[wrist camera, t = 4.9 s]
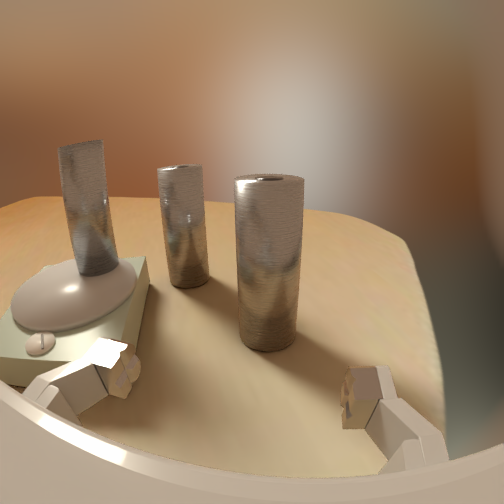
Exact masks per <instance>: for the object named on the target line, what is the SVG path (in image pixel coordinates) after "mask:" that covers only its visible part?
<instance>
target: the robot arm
mask: <svg viewBox="0 0 504 504" xmlns="http://www.w3.org/2000/svg"><path fill="white" fill-rule="evenodd" d="M135 352H136V349H135V346H134V344H131V343H128V342H124V341H120V340H116V339H111V338H108V337H104V336H102V337H99V339H98V340H97V341H96V342H95V343H94V344H93V346H92V347H91V348H90V349H89V350H88V352H87V353H86V354H85V355H84V356H83V358H82V359H76V360H74V361H72V362H69V363H67V364H65V365H62V366H60V367H58V368H55V369H53V370H51V371H48V372H46V373H44V374H41V375H39V376H37V377H36V378H35V379H34V380H33V381H32V382H31V384H30V385H29V386H28V387H27V388H26V390H25V391H24V392H23V393H22V394H20V393H19V392H17V391H16V390H14V389H13V388H11V387H10V386H8V385H7V384H5V383H4V382H2V381H1V380H0V504H504V443H502V444H499V445H497V446H494V447H492V448H489V449H486V450H483V451H481V452H477V453H475V454H471V455H468V456H465V457H462V458H458V459H455V460H451V461H450V460H449V456H448V452H447V448H446V445H445V441H444V438H443V434H442V433H441V432H440V431H439V430H438V429H437V428H436V427H435V426H433V425H432V424H431V423H430V422H429V421H428V420H426V419H425V418H424V417H423V416H422V415H421V414H419V413H418V412H417V411H416V410H415V409H414V408H413V407H411V406H410V405H409V404H408V403H407V402H406V401H405V400H403V399H402V398H398V396H397V393H396V389H395V385H394V382H393V378H392V375H391V371H390V368H389V366H388V365H385V366H348V368H347V371H346V380H345V381H344V382H343V384H342V388H341V406H342V407H343V408H344V410H343V412H342V428H343V429H365V431H366V432H367V434H368V435H369V436H370V437H371V439H372V440H373V441H374V443H375V444H376V445H377V446H378V448H379V449H380V450H381V452H382V453H383V454H384V455H385V457H386V458H387V459H388V460H389V461H388V462H387V463H386V464H385V466H384V467H383V468H382V469H381V470H380V471H379V472H378V474H377V475H368V476H356V477H339V478H295V477H277V476H265V475H255V474H247V473H239V472H232V471H226V470H220V469H214V468H209V467H204V466H199V465H195V464H190V463H186V462H182V461H178V460H174V459H170V458H166V457H163V456H159V455H156V454H152V453H149V452H146V451H143V450H140V449H137V448H134V447H131V446H128V445H125V444H122V443H120V442H117V441H114V440H112V439H109V438H107V437H104V436H102V435H99V434H97V433H95V432H92V431H90V430H88V429H86V428H83V427H82V423H81V422H80V420H79V419H78V417H77V415H79V414H80V413H82V412H83V411H85V410H87V409H88V408H90V407H91V406H93V405H94V404H96V403H97V402H99V401H100V400H102V399H103V398H105V397H106V396H108V394H109V395H113V396H116V397H120V398H123V399H126V397H127V395H128V394H129V392H130V390H131V389H132V385H131V383H132V382H134V381H136V380H137V379H138V377H139V375H140V370H141V364H140V360H139V358H138V357H137V356H136V355H135Z"/></svg>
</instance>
